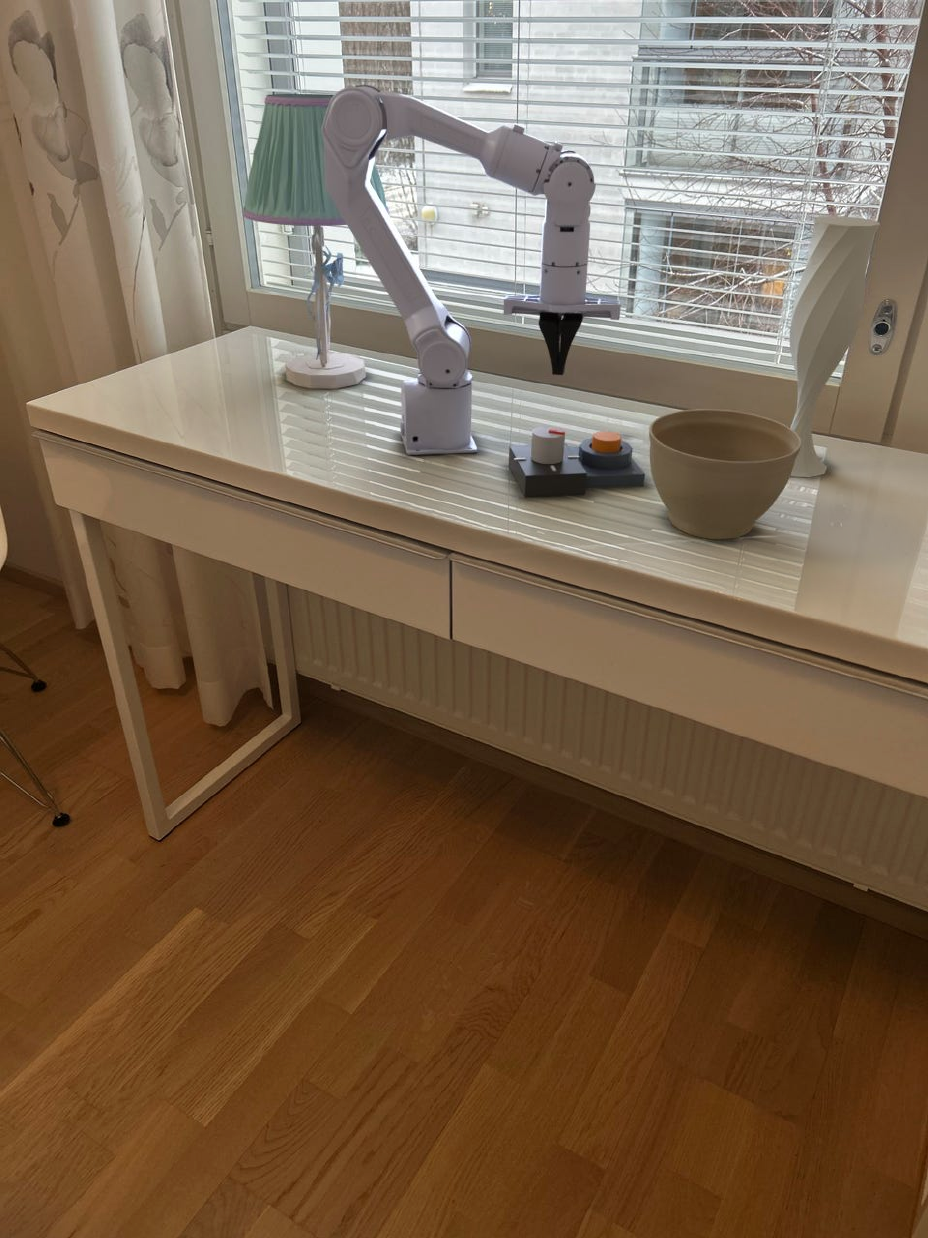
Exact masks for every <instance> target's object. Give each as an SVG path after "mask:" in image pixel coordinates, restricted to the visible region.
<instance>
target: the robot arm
mask: <svg viewBox="0 0 928 1238" xmlns="http://www.w3.org/2000/svg"><path fill="white" fill-rule="evenodd" d="M333 95H334V96H333V97H332V99H331V101H330V102H329V105H328V108H327V111H326V114H325V118H324V121H323V124H322V128H321V133H322V137H323V142H324V164H325V185H326V189H327V191H328V194H329V196H330V197H331V199H332V201H333V202H334V204H335V206H336V207H337V209H338V211H339V212H340V214H341V216H342V217H343V219H344V221H345V222H346V224H347V225H346V226H347V228H348V229H349V231H350V232H351V235H352V236H353V238H354V239H355V241H356V243H357V245H358V246H359V247H360V249H361V251H362V252H363V254H364V256H365V258H366V259H367V261H368V262H369V264H370V266H371V267H372V269H373V271H374V272H375V274H376V277H377V278H378V279H379V281H380V283H381V285H382V286H383V288H384V289H385V291H386V292H387V294H388V296H389V298H390V299H391V302H392V303H393V304H394V306H395V309H397V311H398V313H399V314H400V316H401V318H402V320H403V321H404V324H405V327H406V330H407V334H408V337H409V341H410V343H411V344H412V346H413V348H414V350H415V352H416V353H415V354H416V358H417V366H418V370H419V371H418V373H417V377H416V378H413V379H410V380H403V381H401V388H400V390H401V391H400V393H401V394H400V396H401V397H400V398H401V400H400V401H401V403H400V404H401V406H400V407H401V422H400V436H401V438H402V442H403V445H404V449H405V453H406V455H408V456H414V455H415V456H418V455H420V456H421V455H442V454H443V455H445V454H447V455H449V454H471V453H477V452H478V447H477V445H476V442H475V440H474V439H473V436H472V407H473V406H472V404H473V403H472V401H473V396H472V395H473V375H472V373H471V372H470V371H469V370H468V363H469V362H468V360H469V359H468V358H469V355H470V352H471V349H472V338H471V336H470V333H469V331H468V330H467V328H466V327H465V326H464V325H463V324H462V323H460V322H459V321H457V320H456V319H455V318H454V317H453V316H452V315H451V314H450V312H449V311H448V309H447V307H446V306H445V305H444V304H443V303H442V302H441V301H440V300H439V299H438V298H437V296H436V294H435V293H434V291H433V290H432V288H431V286H430V284H429V283H428V281H427V279H426V277H425V276H424V274H423V272H422V270H421V269H420V267H419V265H418V264H417V262H416V259H415V258H414V256H413V255H412V253H411V252H410V250H409V248H408V245H407V244H406V243H405V241H404V239H403V237H402V236H401V234H400V232H399V231H398V229H397V227H396V225H395V224H394V222H393V220H392V218H391V216H390V214H389V215H388V213H387V211H386V210H385V208H384V206H383V204H382V203H381V201H380V199H379V197H378V196H377V194H376V192H375V191H374V189H373V187H372V185H371V183H370V178H371V173H372V169H373V165H374V161H375V162H376V158H377V155H376V154H377V152H378V150H379V148H380V147H381V145H382V144H383V142H384V140H385V138H386V141H394V140H399V139H404V138H410V137H416V138H420V139H422V140H424V141H427V142H430V143H433V144H435V145H438V146H441V147H444V148H446V149H449V150H451V151H455V152H456V153H459V154H462V155H465V156H467V157H471V158H473V159H476V160H478V161H479V162H480V164H481V168H482V171H483V172H484V175H485V177H487V178H490V179H492V180H494V181H497V182H499V183H502V184H505V185H507V186H510V187H511V188H514V189H517V190H519V191H522V192H524V193H527V194H529V195H531V196H534V197H536V196H539V195H544V197H545V215H544V220H543V222H542V230H541V251H540V253H541V254H540V255H541V257H540V258H541V259H540V278H539V294H535V295H533V294H532V295H529V294H528V295H505V297H504V298H503V315H506V316H511V315H514V314H515V315H532V316H533V315H534V316H536V315H537V316H539V319H538V327H539V330H540V332H541V334H542V337H543V339H544V342H545V345H546V348H547V350H548V355H549V359H550V365H551V374H552V375H553V376H564V373H565V369H566V363H567V360H568V355H569V352H570V349H571V346H572V344H573V342H574V340H575V338H576V335H577V333H578V331H579V329H580V327H581V326H582V323H583V321H584V318H595V319H596V318H597V319H598V318H599V319H610V320H611V321H619V320H620V318H621V309H622V308H621V306H622V301H621V300H614V299H605V298H597V297H589V296H586V295H587V279H588V263H589V251H590V250H589V249H590V237H591V236H590V235H591V222H590V221H589V218H590V215H591V204H590V201H591V200H592V199H593V196H594V194H595V193H596V187H597V186H596V183H595V177H594V172H593V170H592V168H591V165H590V164H589V162H588V161H587V160H586V159H585V157H583V156H582V155H581V154H578V153H577V152H576V151H575V150H573V149H566V150H563V148H564V145H563V144H562V143H560V142H558V141H554V143H553V144H551V143H549V142H547V141H544V140H542V139H539V138H537V137H535V136H532V135H530V134H528V133H525V126H524V125H521V124H519V123H513V126H512V127H511V126H509V125H506V124H501V125H500V126H498V127H496V128H494V129H492V130H490V131H487V130H486V129H483V128H481V127H479V126H476V125H475V124H473V123H470V122H469V121H466V120H463V119H461V118H459V117H457V116H455V115H452V114H450V113H449V112H446V111H444V110H442V109H440V108H437V107H435V106H433V105H431V104H429V103H427V102H424V101H422V100H420V99H418V98H416V97H413V96H409V95H405V94H402V93H399V92H395V91H392V90H391V91H390V90H383V91H382V90H381V89H379V88H378V87H377V86H375V85H374V86H373V85H372V84H357V85H354V86H347V87H344V88H342V89H340V90H338V91H337V92H336V93H335V94H333Z"/></svg>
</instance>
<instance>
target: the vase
mask: <svg viewBox="0 0 928 1238" xmlns="http://www.w3.org/2000/svg"><path fill="white" fill-rule="evenodd" d="M812 220H813V228H812V234H811V238H810V243H809V249H808V255H807V256H808V257H807V260H806V266H805V268H804V270H803V273H802V275H801V278H800V280H799V282H798V286H797V288H796V292H795V296H794V300H793V304H792V309H791V320H790V327H789V349H790V354H791V359H792V364H793V369H794V372H795V377H796V381H797V402H796V409H795V414H794V417H793V418H792V422H791V424H790V427H789V428H791V429H792V430H793V431H795V432H796V433H797V434H798V435H799V437H800V439H801V448H800V451H799V453H798V455H797V457H796V459H795V463H794V466H793V469H792V472H791V475H790V477H796V478H797V477H798V478H799V477H800V478H812V477H817V476H821V475H825V474H826V472H827V469H828V466H827V465H826V464H825V463H823V462H822V461H821V460H820V458H819V457H818V455H817V453H816V449H815V446H814V439H813V431H812V425H813V418H814V417H813V416H814V410H815V407H816V405H817V403H818V402H817V401H818V400H819V397H820V395H821V392H822V391H823V389H824V387H825V386H826V384H827V383H828V381H829V379H830V378H831V377H832V375H833V374H834V373H835V370H836V369H837V368H838V366H839V365H840V363H841V361H842V360H843V358H844V357H845V355H846V353H847V351H848V349H849V348H850V346H851V345H852V343H853V340H854V338H855V335H856V333H857V330H858V328H859V325H860V321H861V318H862V313H863V309H864V304H865V296H866V295H865V294H866V286H867V285H866V284H867V283H866V282H867V268H868V265H869V261H870V257H871V252H872V246H873V243H874V238H875V235H876V233H877V231H878V229H879V227H880V226H881V223H880V222H879V221H877V220H872V219H869V218H862V217H854V216H843V215H841V216H839V215H825V216H824V215H821V216H816V217H812Z"/></svg>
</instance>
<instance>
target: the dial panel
mask: <svg viewBox="0 0 928 1238" xmlns="http://www.w3.org/2000/svg"><path fill="white" fill-rule="evenodd" d="M531 446H532V444H510V445H509V447H508V465H507V466H508V469H509V471H510V472H511V475H512V477H513V478H514V481H515V483H516V484H517V487H518V489H519V490H520V492H521V494H522V496H523V498H524V499H531V498H532V499H533V498H553V497H555V498H557V497H576V496H577V497H578V496H585V495H586V488H585V487H586V476H587V473H586V471H585V470H584V468H583V467H582V465H581V464H580V462H579V461H578V460H577V458H579V456H575V455H574V454H573V452H572V451H571V449H570V448H569V447H570V446H569V445H568V443H566V442H565V443H564V455H563V460H562V461H561V462H560V463H556V464H541V463H537V462H535V461H533V460H532V459H531Z"/></svg>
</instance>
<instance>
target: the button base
mask: <svg viewBox="0 0 928 1238" xmlns="http://www.w3.org/2000/svg"><path fill="white" fill-rule="evenodd" d="M592 438H593V437H591V438H587V439H584V440H583V441H581V443H580V444H579V446H569V448H570V449H571V451H572V452H573V454H574V455H575V456H579V458H577V460H578V461H579V462H580V464H581V465H582V467H583V468H584V470H585V471H586V473H587V476H586V487H585V489H606V488H624V487H625V488H627V487H628V488H629V487H644V484H645V477H646V473H645V472H644V471H643V469H642V468H641V467H640V466H639V465H638V464H637V462H636V461H635V460H634V458H633V447H632V445H631V444H630V443H629V442H626V441H624V440H621V446H620V451H619V452H615V453H603V452H597V451H595V450H593V449H592Z"/></svg>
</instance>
